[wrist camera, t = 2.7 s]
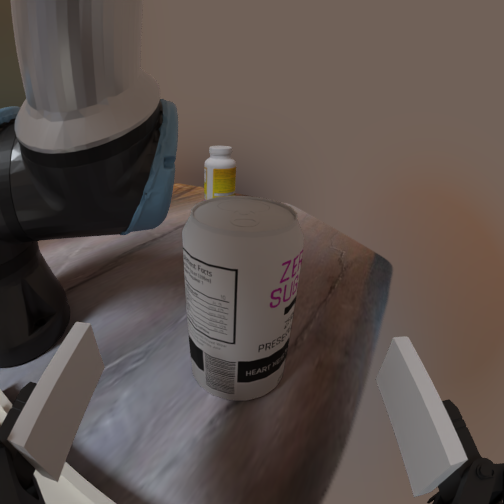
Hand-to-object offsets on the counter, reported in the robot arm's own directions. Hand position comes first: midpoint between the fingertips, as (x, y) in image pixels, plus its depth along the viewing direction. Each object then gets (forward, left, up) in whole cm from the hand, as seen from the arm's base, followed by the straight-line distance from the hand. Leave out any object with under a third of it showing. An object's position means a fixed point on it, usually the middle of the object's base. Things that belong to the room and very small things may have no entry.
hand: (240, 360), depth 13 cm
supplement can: (-9, +5, -12) cm, 16 cm away
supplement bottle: (-52, +23, -12) cm, 58 cm away
